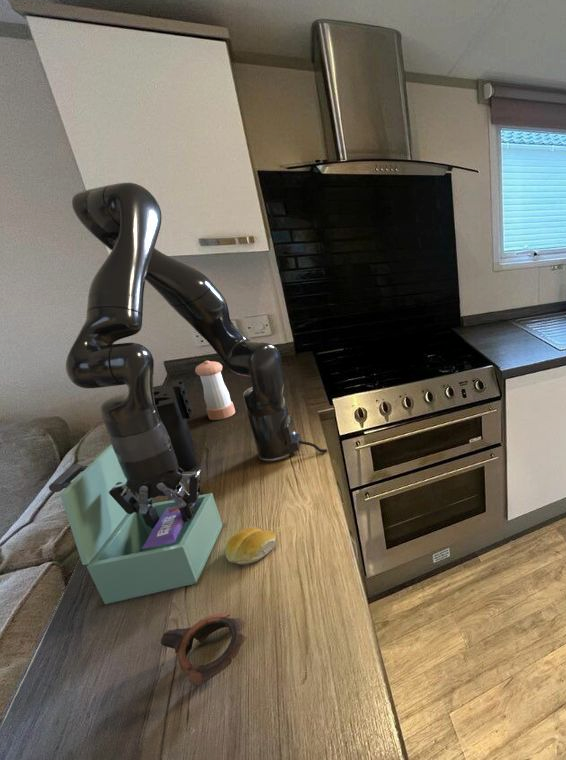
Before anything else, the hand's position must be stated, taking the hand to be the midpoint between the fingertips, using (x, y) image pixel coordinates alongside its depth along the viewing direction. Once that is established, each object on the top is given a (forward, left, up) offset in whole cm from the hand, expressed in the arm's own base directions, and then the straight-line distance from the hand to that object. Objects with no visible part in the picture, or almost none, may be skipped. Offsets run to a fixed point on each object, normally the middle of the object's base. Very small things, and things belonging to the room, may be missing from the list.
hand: (172, 521), depth 86 cm
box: (+3, 0, -9) cm, 9 cm away
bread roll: (-12, +2, -9) cm, 16 cm away
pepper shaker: (+12, -67, -9) cm, 68 cm away
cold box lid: (+8, 0, +8) cm, 11 cm away
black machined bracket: (+15, -42, -9) cm, 45 cm away
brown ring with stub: (-11, +25, -9) cm, 29 cm away
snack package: (0, +1, -1) cm, 1 cm away
